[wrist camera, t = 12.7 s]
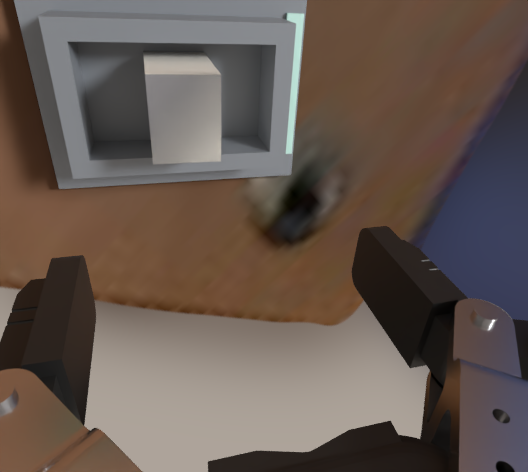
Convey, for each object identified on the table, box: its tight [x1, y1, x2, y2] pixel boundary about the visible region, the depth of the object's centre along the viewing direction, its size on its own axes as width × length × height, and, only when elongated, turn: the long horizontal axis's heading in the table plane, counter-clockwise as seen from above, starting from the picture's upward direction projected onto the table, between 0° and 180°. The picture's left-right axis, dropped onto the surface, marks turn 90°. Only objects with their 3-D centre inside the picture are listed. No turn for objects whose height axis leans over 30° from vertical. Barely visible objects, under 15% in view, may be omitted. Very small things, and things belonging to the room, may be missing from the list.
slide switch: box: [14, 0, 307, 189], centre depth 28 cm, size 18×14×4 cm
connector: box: [143, 51, 221, 164], centre depth 26 cm, size 4×5×7 cm
